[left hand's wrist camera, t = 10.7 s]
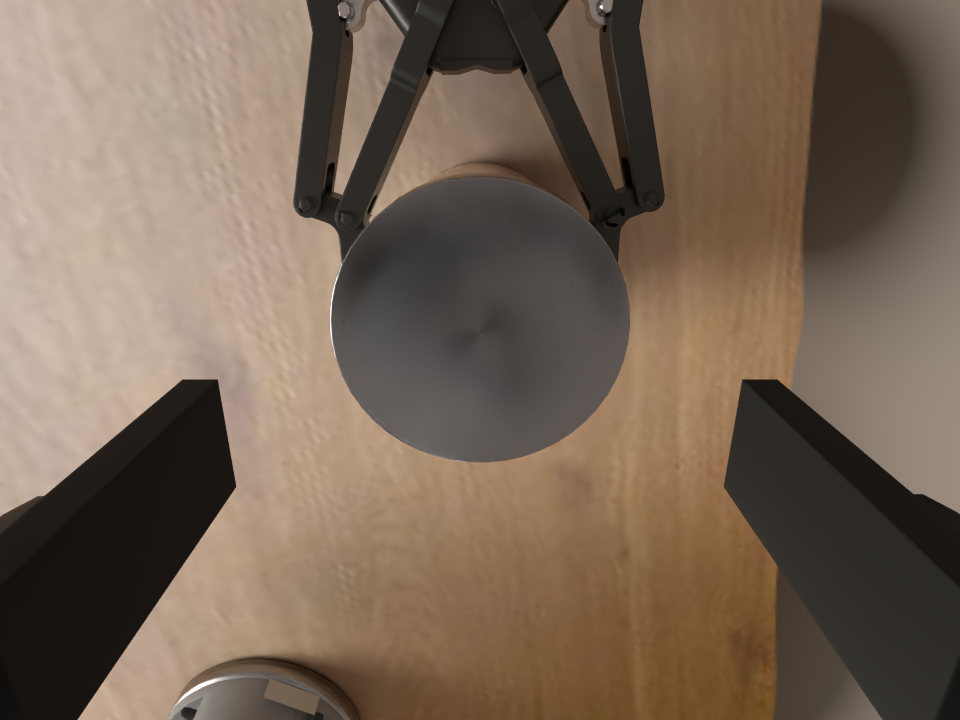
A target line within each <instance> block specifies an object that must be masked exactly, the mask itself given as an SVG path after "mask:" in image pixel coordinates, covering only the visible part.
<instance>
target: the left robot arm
mask: <svg viewBox="0 0 960 720" xmlns="http://www.w3.org/2000/svg"><path fill="white" fill-rule="evenodd" d="M235 488H236V482H235V477H234V471H233V465H232V459H231V454H230V448H229V442H228V436H227V431H226V425H225V419H224V413H223V408H222V402H221V396H220V391H219V385H218V380H182V381H180V382H179V383H178V384H177V385H176V386H175V387H173V388H172V389H171V390H170V391H169V392H167V393H166V394H165V395H164V396H163V397H161V398H160V399H159V400H158V401H157V402H156V403H154V404H153V405H152V406H151V407H150V408H148V409H147V410H146V411H145V412H144V413H142V414H141V415H140V416H139V417H138V418H137V419H135V420H134V421H133V422H132V423H131V424H129V425H128V426H127V427H126V428H125V429H123V430H122V431H121V432H120V433H119V434H118V435H116V436H115V437H114V438H113V439H112V440H110V441H109V442H108V443H107V444H106V445H104V446H103V447H102V448H101V449H100V450H99V451H97V452H96V453H95V454H94V455H93V456H91V457H90V458H89V459H88V460H87V461H85V462H84V463H83V464H82V465H81V466H79V467H78V468H77V469H76V470H75V471H74V472H72V473H71V474H70V475H69V476H68V477H66V478H65V479H64V480H63V481H62V482H60V483H59V484H58V485H57V486H56V487H55V488H53V489H52V490H51V491H50V492H49V493H47V494H46V495H45V496H38V497H36V498H34V499H32V500H30V501H28V502H26V503H24V504H22V505H20V506H19V507H17V508H15V509H13V510H11V511H9V512H7V513H5V514H3V515H2V516H1V517H0V720H78V718H79V717H80V715H81V714H82V712H83V711H84V709H85V708H86V706H87V705H88V703H89V702H90V700H91V699H92V698H93V696H94V695H95V693H96V692H97V690H98V689H99V687H100V686H101V684H102V683H103V681H104V680H105V678H106V677H107V676H108V674H109V673H110V671H111V670H112V668H113V667H114V665H115V664H116V662H117V661H118V659H119V658H120V657H121V655H122V654H123V652H124V651H125V649H126V648H127V646H128V645H129V643H130V642H131V640H132V639H133V637H134V636H135V635H136V633H137V632H138V630H139V629H140V627H141V626H142V624H143V623H144V621H145V620H146V618H147V617H148V615H149V614H150V613H151V611H152V610H153V608H154V607H155V605H156V604H157V602H158V601H159V599H160V598H161V596H162V595H163V593H164V592H165V591H166V589H167V588H168V586H169V585H170V583H171V582H172V580H173V579H174V577H175V576H176V574H177V573H178V571H179V570H180V569H181V567H182V566H183V564H184V563H185V561H186V560H187V558H188V557H189V555H190V554H191V552H192V551H193V549H194V548H195V547H196V545H197V544H198V542H199V541H200V539H201V538H202V536H203V535H204V533H205V532H206V530H207V529H208V527H209V526H210V525H211V523H212V522H213V520H214V519H215V517H216V516H217V514H218V513H219V511H220V510H221V508H222V507H223V505H224V504H225V503H226V501H227V500H228V498H229V497H230V495H231V494H232V492H233V491H234V489H235ZM724 488H725V489H726V491H727V492H728V494H729V495H730V497H731V498H732V500H733V501H734V503H735V504H736V505H737V507H738V508H739V510H740V511H741V513H742V514H743V516H744V517H745V519H746V520H747V522H748V523H749V525H750V526H751V527H752V529H753V530H754V532H755V533H756V535H757V536H758V538H759V539H760V541H761V542H762V544H763V545H764V547H765V548H766V549H767V551H768V552H769V554H770V555H771V557H772V558H773V560H774V561H775V563H776V564H777V566H778V567H779V569H780V570H781V571H782V573H783V574H784V576H785V577H786V579H787V580H788V582H789V583H790V585H791V586H792V588H793V589H794V590H795V592H796V593H797V595H798V596H799V598H800V599H801V601H802V602H803V604H804V605H805V607H806V608H807V610H808V611H809V613H810V614H811V615H812V617H813V618H814V620H815V621H816V623H817V624H818V626H819V627H820V629H821V630H822V632H823V633H824V635H825V636H826V637H827V639H828V640H829V642H830V643H831V645H832V646H833V648H834V649H835V651H836V652H837V654H838V655H839V657H840V658H841V659H842V661H843V662H844V664H845V665H846V667H847V668H848V670H849V671H850V673H851V674H852V676H853V677H854V678H855V680H856V681H857V683H858V684H859V686H860V687H861V689H862V690H863V692H864V693H865V695H866V696H867V698H868V699H869V700H870V702H871V703H872V705H873V706H874V708H875V709H876V711H877V712H878V714H879V715H880V717H881V718H882V719H883V720H960V514H959V513H957V512H956V511H954V510H952V509H950V508H948V507H946V506H944V505H942V504H940V503H938V502H937V501H935V500H933V499H931V498H929V497H927V496H925V495H923V494H913V493H911V492H910V491H909V490H908V489H907V488H905V487H904V486H903V485H902V484H901V483H900V482H898V481H897V480H896V479H895V478H894V477H892V476H891V475H890V474H889V473H888V472H886V471H885V470H884V469H883V468H882V467H880V466H879V465H878V464H877V463H876V462H875V461H873V460H872V459H871V458H870V457H869V456H867V455H866V454H865V453H864V452H863V451H861V450H860V449H859V448H858V447H857V446H856V445H854V444H853V443H852V442H851V441H850V440H848V439H847V438H846V437H845V436H844V435H842V434H841V433H840V432H839V431H838V430H837V429H835V428H834V427H833V426H832V425H831V424H829V423H828V422H827V421H826V420H825V419H823V418H822V417H821V416H820V415H819V414H817V413H816V412H815V411H814V410H813V409H812V408H810V407H809V406H808V405H807V404H806V403H804V402H803V401H802V400H801V399H800V398H799V397H797V396H796V395H795V394H794V393H793V392H791V391H790V390H789V389H788V388H787V387H785V386H784V385H783V384H782V383H781V382H780V381H778V380H742V385H741V391H740V396H739V402H738V408H737V413H736V419H735V425H734V431H733V436H732V442H731V448H730V454H729V459H728V465H727V471H726V477H725V482H724ZM167 720H359V717H358V714H357V712H356V710H355V708H354V706H353V705H352V703H351V702H350V700H349V699H348V698H347V697H346V695H345V694H344V693H343V692H342V691H341V690H340V689H339V688H338V687H336V686H335V685H334V684H333V683H331V682H330V681H328V680H327V679H325V678H324V677H322V676H320V675H318V674H317V673H315V672H312V671H310V670H308V669H305V668H303V667H300V666H297V665H294V664H290V663H286V662H281V661H275V660H266V659H246V660H237V661H231V662H227V663H223V664H220V665H217V666H214V667H212V668H210V669H208V670H206V671H204V672H202V673H200V674H199V675H198V676H196V677H195V678H193V679H192V680H191V681H190V682H189V683H188V684H187V685H186V687H185V688H184V689H183V690H182V692H181V694H180V695H179V697H178V699H177V701H176V703H175V705H174V707H173V708H172V710H171V712H170V714H169V716H168V718H167Z"/></svg>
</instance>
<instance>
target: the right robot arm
mask: <svg viewBox="0 0 960 720" xmlns="http://www.w3.org/2000/svg"><path fill="white" fill-rule="evenodd" d="M374 1H377V0H307V6H308V11H309V16H310V21H311V26H312V31H313V36H312V44H311V53H310V62H309V70H308V79H307V87H306V96H305V105H304V113H303V122H302V130H301V139H300V147H299V156H298V165H297V173H296V182H295V190H294V199H293V205H294V208H295V210H296V212H297V213H298V214H299V215H300V216H302V217H305V218H311V217H312V218H315V219H318V220H321V221H324V222H326V223H329V224H330V225H332V226H333V227H334V228H335V229H336V231H337V233H338V235H339V241H340V251H341V261H342V263H343V261H344V259H345V257H346V255H347V253H348V251H349V249H350V247H351V246H352V244H353V243H354V242H355V240H356V239H357V237H358V236H359V235H360V233H361V232H362V231H363V230H364V229H365V227H366V226H367V225H368V224H369V219H370V217H371V216H372V215H371V212H372V210H373V208H374V205H375V203H376V201H377V198H378V196H379V194H380V191H381V189H382V187H383V184H384V182H385V180H386V177H387V175H388V173H389V170H390V168H391V166H392V164H393V161H394V159H395V157H396V154H397V152H398V150H399V147H400V145H401V143H402V140H403V138H404V136H405V133H406V131H407V129H408V126H409V124H410V122H411V119H412V117H413V115H414V112H415V110H416V108H417V106H418V103H419V101H420V99H421V96H422V94H423V93H424V91H425V89H426V87H427V85H428V83H429V81H430V78H431V76H432V74H433V71H434V70H435V71H437V72H440V73H442V75H459V74H462V73H466V72H469V71H472V70H475V69H478V70H482V71H486V72H489V73H493V74H511V73H512V71H515V70H517V69H520V71H521V73H522V75H523V77H524V79H525V81H526V83H527V85H528V87H529V89H530V91H531V92H532V94H533V96H534V98H535V100H536V102H537V104H538V106H539V108H540V110H541V113H542V115H543V117H544V119H545V121H546V123H547V125H548V127H549V129H550V131H551V134H552V136H553V138H554V140H555V142H556V144H557V146H558V148H559V150H560V153H561V155H562V157H563V159H564V161H565V163H566V165H567V167H568V169H569V172H570V174H571V176H572V178H573V180H574V182H575V184H576V186H577V188H578V191H579V193H580V195H581V197H582V199H583V201H584V203H585V205H586V207H587V209H588V212H589V214H590V216H589V222H590V223H591V224H592V225H593V226H594V227H595V229H596V230H597V231H598V232H599V233H600V234H601V236H602V237H603V239H604V240H605V242H606V243H607V245H608V246H609V248H610V249H611V251H612V253H613V255H614V257H615V259H616V261H617V263H618V252H619V238H620V230H621V227H622V226H623V225H624V223H625V222H626V220H628V219H629V218H631V217H633V216H636V215H639V214H641V213H644V212H647V211H648V212H651V211H655V210H657V209H659V208H660V207H661V206H662V204H663V202H664V196H665V194H664V188H663V181H662V174H661V168H660V161H659V155H658V148H657V142H656V135H655V129H654V122H653V115H652V109H651V102H650V96H649V89H648V83H647V76H646V70H645V63H644V56H643V50H642V43H641V37H640V30H639V23H640V17H641V11H642V4H643V0H581V1H582V2H583V3H584V6H585V10H586V18H587V20H588V22H589V23H590V25H592V26H593V27H596V28H600V32H599V34H600V51H601V58H602V64H603V69H604V75H605V81H606V86H607V92H608V98H609V103H610V109H611V115H612V121H613V126H614V132H615V138H616V143H617V149H618V155H619V160H620V166H621V172H622V177H623V183H624V187H622V188H619V189H617V190H615V189H614V187H613V185H612V183H611V180H610V178H609V176H608V174H607V172H606V169H605V167H604V165H603V163H602V161H601V158H600V156H599V154H598V152H597V149H596V147H595V145H594V143H593V141H592V138H591V136H590V134H589V132H588V130H587V127H586V125H585V123H584V121H583V119H582V116H581V114H580V112H579V110H578V108H577V105H576V103H575V101H574V99H573V96H572V94H571V92H570V90H569V88H568V85H567V83H566V81H565V79H564V76H563V74H562V69H561V66H560V63H559V61H558V59H557V57H556V54H555V52H554V50H553V48H552V46H551V43H550V41H549V39H548V37H547V33H548V32H549V30H550V29H551V27H552V26H553V24H554V23H555V21H556V19H557V18H558V16H559V15H560V13H561V12H562V10H563V9H564V7H565V6H566V4H567V3H568V1H569V0H379V1H380V2H381V4H382V5H383V6H384V8H385V9H386V11H387V12H388V14H389V15H390V16H391V18H392V19H393V21H394V22H395V23H396V25H397V26H398V28H399V29H400V31H401V32H402V33H403V35H404V36H405V39H404V41H403V44H402V46H401V49H400V51H399V54H398V56H397V58H396V61H395V63H394V66H393V69H392V73H391V78H390V81H389V83H388V86H387V88H386V91H385V93H384V95H383V98H382V100H381V103H380V105H379V108H378V110H377V113H376V115H375V117H374V120H373V122H372V125H371V127H370V130H369V132H368V134H367V137H366V139H365V142H364V144H363V147H362V149H361V152H360V154H359V156H358V159H357V161H356V164H355V166H354V169H353V171H352V174H351V176H350V178H349V181H348V183H347V186H346V188H345V191H344V193H343V195H341V194H338V193H335V192H334V185H335V178H336V171H337V164H338V157H339V150H340V142H341V135H342V128H343V121H344V114H345V107H346V99H347V92H348V85H349V78H350V71H351V64H352V54H353V35H352V33H354V32H357V31H359V30H361V29H362V27H363V26H364V23H365V18H366V10H367V8H368V6H369V5H370V4H371V3H372V2H374Z"/></svg>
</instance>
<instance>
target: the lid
mask: <svg viewBox="0 0 960 720" xmlns="http://www.w3.org/2000/svg"><path fill="white" fill-rule="evenodd" d="M330 328H331V339H332V344H333V349H334V353H335V358H336V361H337V363H338V366H339V369H340V371H341V374H342V376H343V378H344V380H345V382H346V384H347V386H348V388H349V390H350V392H351V393H352V394H353V396H354V397H355V399H356V400H357V402H358V403H359V404H360V406H361V407H362V408H363V409H364V410H365V411H366V413H367V414H368V415H369V416H370V417H371V418H372V419H373V420H374V421H375V422H376V423H377V424H379V425H380V426H381V427H382V428H383V429H384V430H386V431H387V432H388V433H390V434H391V435H393V436H394V437H396V438H397V439H399V440H400V441H402V442H404V443H406V444H408V445H410V446H412V447H414V448H416V449H418V450H420V451H423V452H426V453H428V454H431V455H434V456H437V457H442V458H446V459H450V460H456V461H464V462H496V461H505V460H510V459H514V458H519V457H523V456H526V455H529V454H532V453H535V452H537V451H540V450H542V449H544V448H546V447H548V446H550V445H553V444H555V443H556V442H558V441H560V440H561V439H563V438H564V437H566V436H567V435H569V434H571V433H572V432H573V431H574V430H575V429H577V428H578V427H579V426H580V425H582V424H583V423H584V422H585V421H586V420H587V419H588V418H589V417H590V416H591V415H592V414H593V413H594V412H595V411H596V409H597V408H598V407H599V406H600V404H601V403H602V402H603V400H604V399H605V397H606V396H607V395H608V393H609V391H610V390H611V388H612V386H613V384H614V382H615V381H616V379H617V376H618V374H619V371H620V369H621V366H622V364H623V361H624V357H625V353H626V349H627V345H628V338H629V329H630V310H629V301H628V295H627V289H626V285H625V282H624V279H623V276H622V272H621V269H620V267H619V265H618V263H617V261H616V259H615V257H614V255H613V253H612V251H611V249H610V248H609V246H608V245H607V243H606V242H605V240H604V239H603V237H602V236H601V234H600V233H599V232H598V231H597V230H596V229H595V227H594V226H593V225H592V224H591V223H590V222H589V221H588V220H587V219H586V218H585V217H584V216H583V215H582V214H580V213H579V212H578V211H577V210H576V209H574V208H573V207H572V206H571V205H570V204H568V203H567V202H566V201H565V200H564V199H562V198H560V197H559V196H557V195H556V194H554V193H552V192H551V191H549V190H548V189H546V188H543V187H541V186H539V185H537V184H535V183H532V182H530V181H527V180H524V179H520V178H517V177H513V176H509V175H502V174H495V173H465V174H457V175H451V176H447V177H443V178H440V179H436V180H433V181H430V182H428V183H426V184H423V185H421V186H419V187H416V188H414V189H413V190H411V191H409V192H408V193H406V194H404V195H403V196H401V197H399V198H398V199H397V200H395V201H394V202H393V203H392V204H390V205H389V206H388V207H387V208H385V209H384V210H383V211H382V212H381V213H379V214H378V215H377V216H376V217H375V218H374V219H373V220H372V221H371V222H370V223H369V224H368V225H367V226H366V227H365V229H364V230H363V231H362V232H361V233H360V235H359V236H358V237H357V239H356V240H355V242H354V243H353V244H352V246H351V247H350V249H349V251H348V253H347V255H346V257H345V259H344V261H343V263H342V265H341V267H340V270H339V273H338V276H337V279H336V281H335V285H334V290H333V295H332V300H331V312H330Z"/></svg>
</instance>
